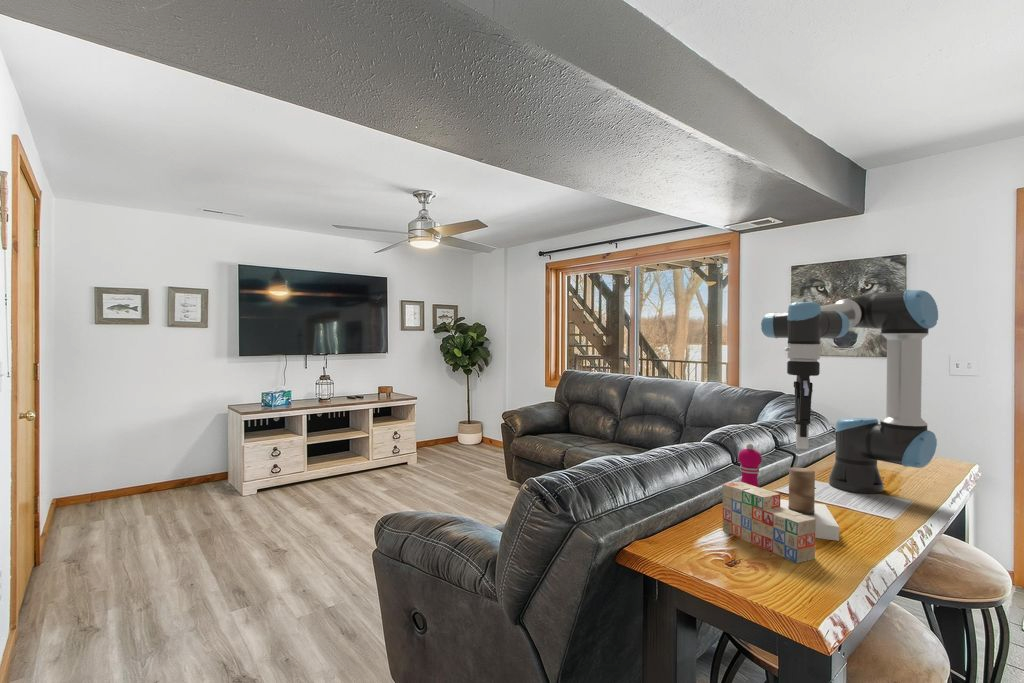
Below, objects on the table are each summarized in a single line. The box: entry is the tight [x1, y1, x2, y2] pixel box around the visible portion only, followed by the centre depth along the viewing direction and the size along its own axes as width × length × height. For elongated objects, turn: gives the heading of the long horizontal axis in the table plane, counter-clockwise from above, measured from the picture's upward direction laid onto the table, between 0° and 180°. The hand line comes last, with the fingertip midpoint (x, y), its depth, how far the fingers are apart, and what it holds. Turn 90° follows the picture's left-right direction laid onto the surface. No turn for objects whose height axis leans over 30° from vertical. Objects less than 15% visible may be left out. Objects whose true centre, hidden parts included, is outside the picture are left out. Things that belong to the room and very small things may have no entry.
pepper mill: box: [737, 443, 762, 488], centre depth 143 cm, size 7×7×20 cm
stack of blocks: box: [722, 481, 816, 564], centre depth 123 cm, size 21×6×12 cm, turn 24°
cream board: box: [780, 498, 840, 542], centre depth 136 cm, size 14×18×4 cm
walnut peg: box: [788, 466, 816, 515], centre depth 136 cm, size 6×6×14 cm
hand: (802, 448), depth 136 cm, fingers closed
